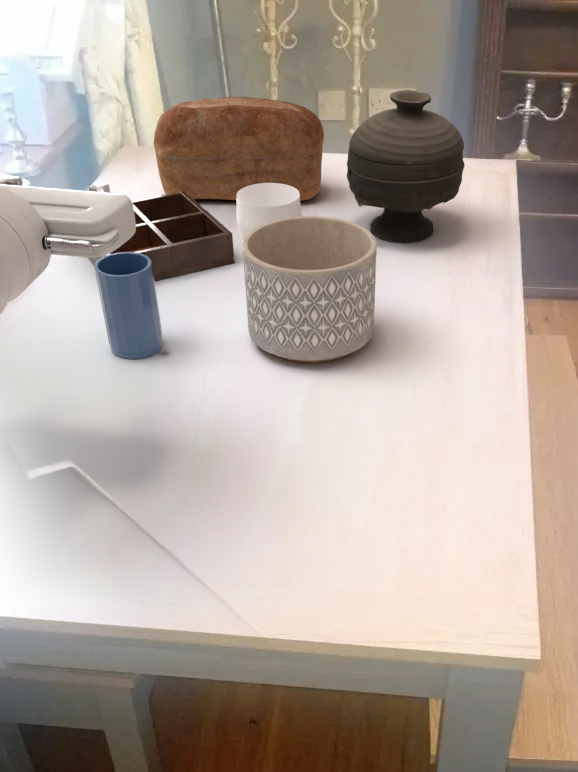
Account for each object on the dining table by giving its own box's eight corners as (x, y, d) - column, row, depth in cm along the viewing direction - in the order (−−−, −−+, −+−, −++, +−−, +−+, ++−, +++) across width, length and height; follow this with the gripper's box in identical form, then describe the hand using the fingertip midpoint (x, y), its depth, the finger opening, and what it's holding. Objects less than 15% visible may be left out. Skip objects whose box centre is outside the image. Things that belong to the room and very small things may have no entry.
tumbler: (120, 364, 114) (105, 280, 106) (103, 340, 118) (87, 259, 110) (171, 351, 116) (159, 268, 108) (152, 328, 120) (139, 247, 113)
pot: (468, 207, 148) (477, 74, 133) (450, 262, 137) (457, 124, 122) (363, 199, 152) (359, 69, 137) (337, 252, 141) (330, 117, 125)
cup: (276, 299, 126) (271, 212, 118) (228, 281, 130) (221, 197, 122) (315, 276, 132) (314, 192, 123) (268, 260, 135) (264, 177, 127)
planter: (399, 340, 118) (404, 245, 109) (303, 384, 110) (300, 285, 101) (318, 296, 127) (317, 205, 118) (224, 334, 119) (215, 239, 110)
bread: (323, 208, 150) (322, 114, 140) (156, 205, 150) (143, 112, 140) (326, 181, 158) (325, 91, 148) (168, 179, 159) (156, 89, 149)
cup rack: (114, 290, 128) (108, 259, 125) (75, 242, 140) (68, 212, 137) (234, 262, 135) (232, 233, 132) (187, 218, 146) (184, 190, 143)
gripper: (99, 215, 78) (152, 162, 88) (-115, 197, 81) (-41, 147, 91) (111, 284, 83) (160, 226, 93) (-92, 265, 85) (-24, 211, 95)
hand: (59, 187), depth 92 cm, fingers open, 8 cm apart
